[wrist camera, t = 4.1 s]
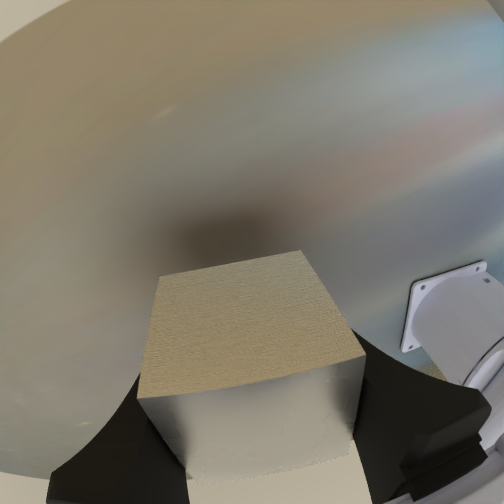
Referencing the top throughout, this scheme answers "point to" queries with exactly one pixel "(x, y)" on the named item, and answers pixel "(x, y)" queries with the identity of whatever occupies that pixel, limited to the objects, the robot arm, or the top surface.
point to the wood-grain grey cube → (250, 369)
